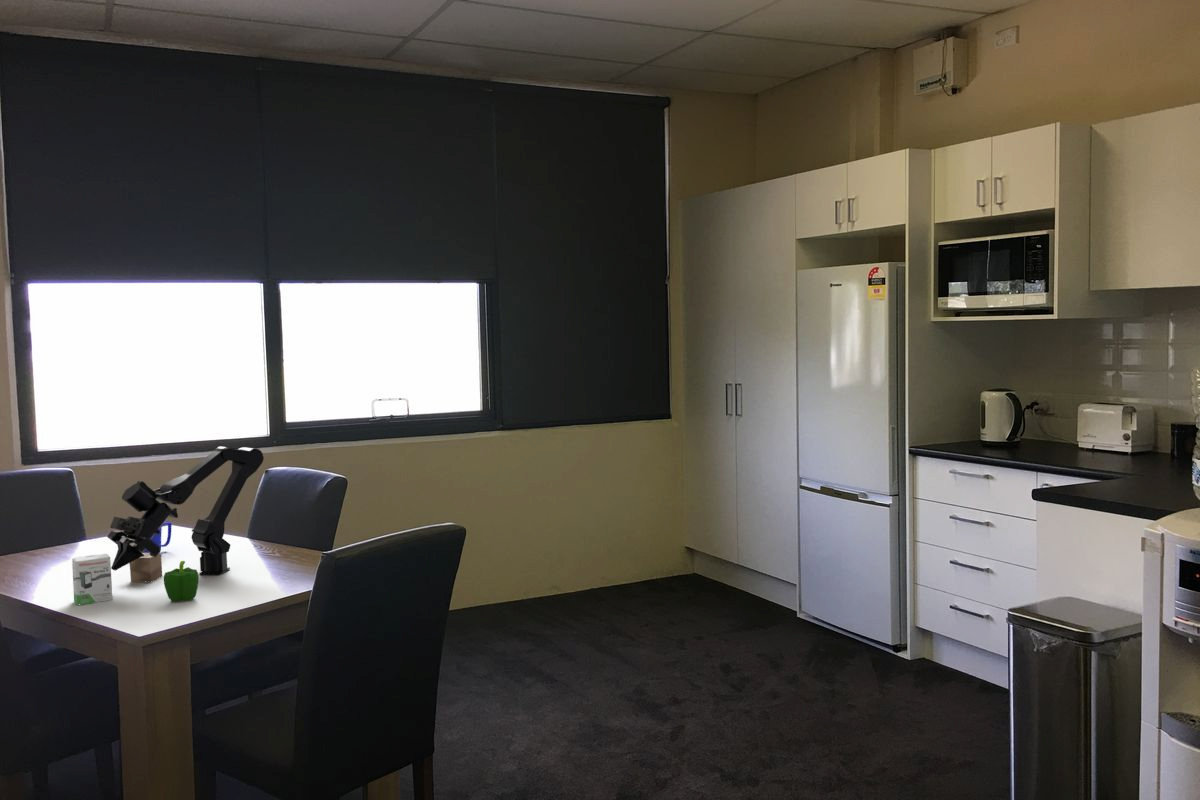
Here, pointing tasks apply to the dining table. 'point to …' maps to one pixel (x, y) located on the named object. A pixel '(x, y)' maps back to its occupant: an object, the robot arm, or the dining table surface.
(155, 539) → the mug
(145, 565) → the walnut block
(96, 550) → the dining table surface
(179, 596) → the bell pepper
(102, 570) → the ink box
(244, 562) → the dining table surface
